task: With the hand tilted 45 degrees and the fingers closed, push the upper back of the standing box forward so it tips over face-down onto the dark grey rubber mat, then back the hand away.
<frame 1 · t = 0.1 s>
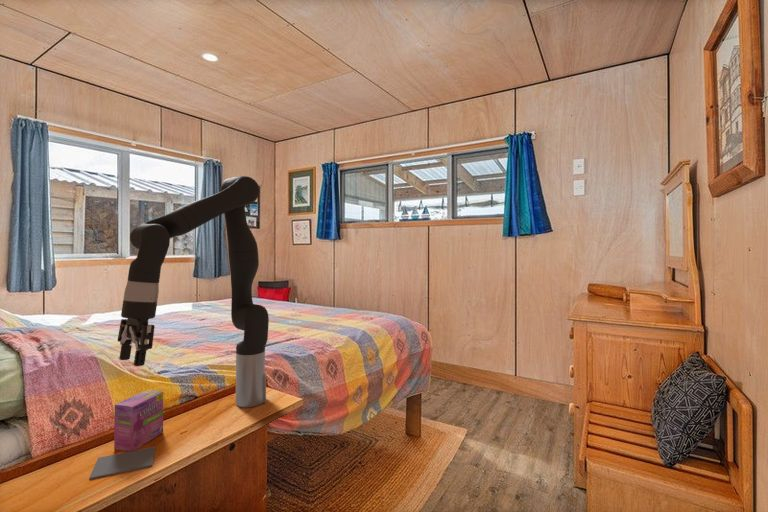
hand: (131, 362, 96), 22 cm above the table, tool pointing down, fingers open, 8 cm apart
box: (140, 441, 100), on the table
mat: (124, 462, 90), on the table
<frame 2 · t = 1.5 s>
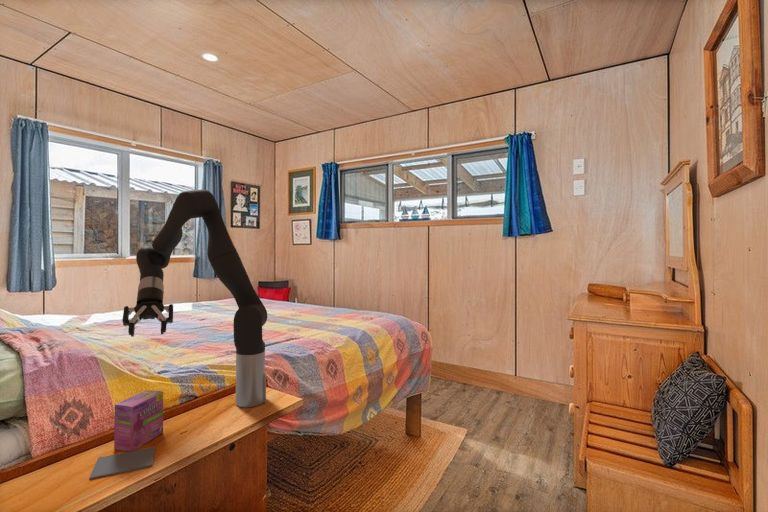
hand: (147, 334, 117), 25 cm above the table, tool tilted 45°, fingers open, 7 cm apart
nothing on the table moved.
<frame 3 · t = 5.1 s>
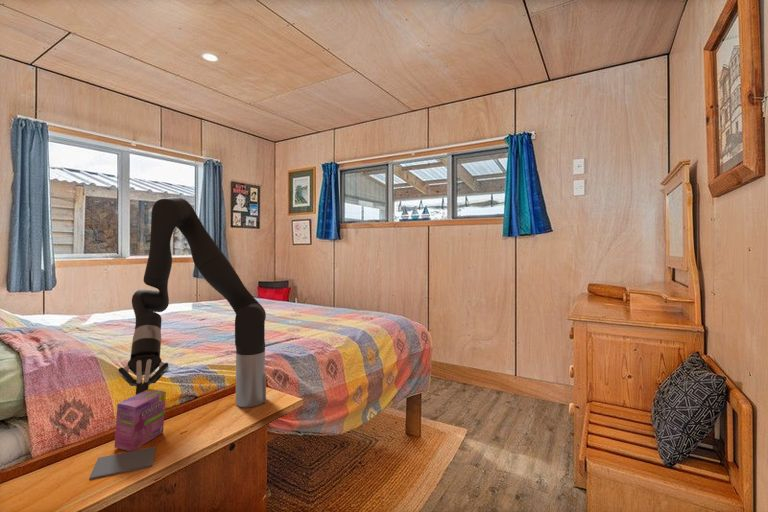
hand: (141, 397, 104), 10 cm above the table, tool tilted 45°, fingers closed
nothing on the table moved.
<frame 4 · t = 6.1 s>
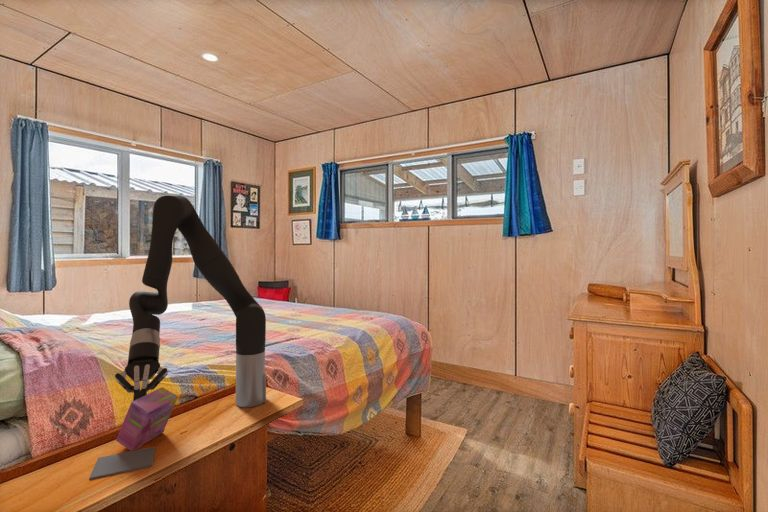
hand: (139, 404, 99), 10 cm above the table, tool tilted 45°, fingers closed
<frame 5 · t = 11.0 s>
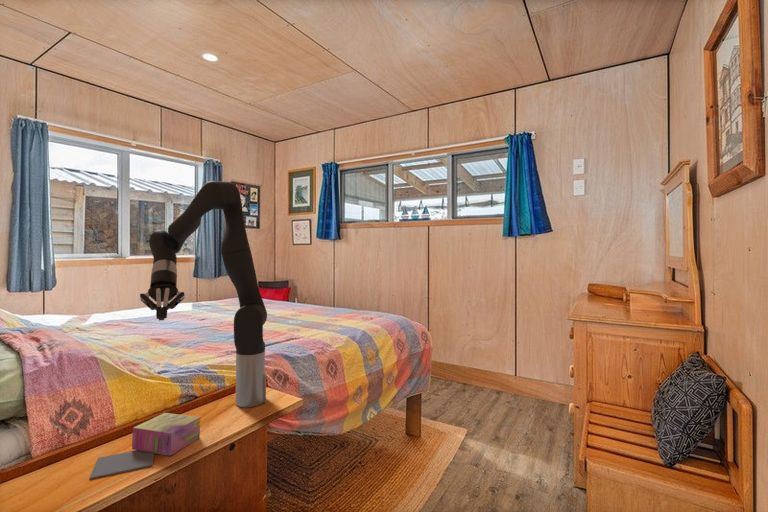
hand: (161, 318, 115), 30 cm above the table, tool tilted 45°, fingers closed
box: (148, 430, 100), point 3 cm above the table, touching mat
at the end: box tilted 89°; box touching mat, table; box inside the target area (7.5 cm from its centre), point 3.0 cm above the table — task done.
